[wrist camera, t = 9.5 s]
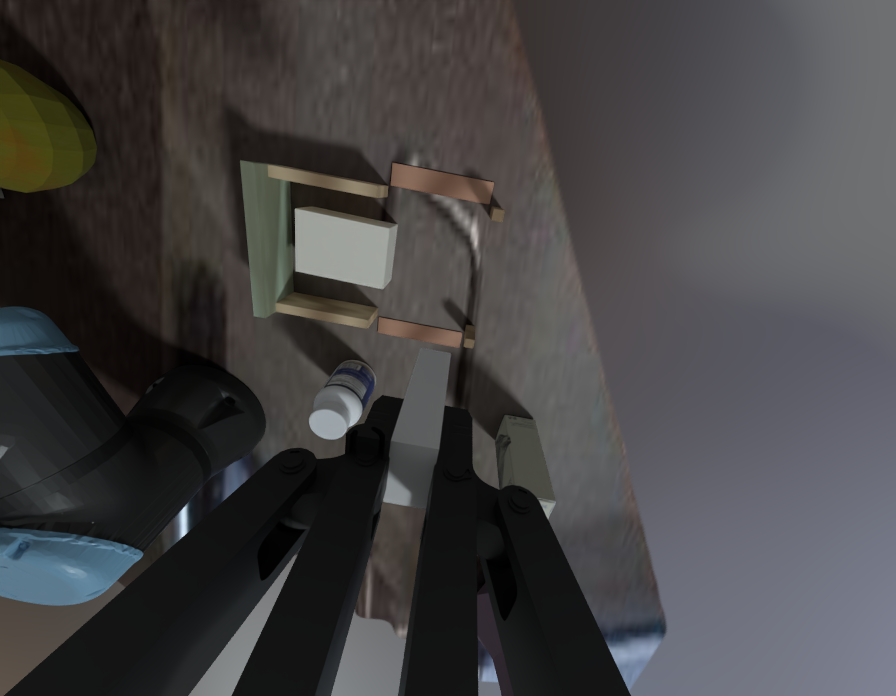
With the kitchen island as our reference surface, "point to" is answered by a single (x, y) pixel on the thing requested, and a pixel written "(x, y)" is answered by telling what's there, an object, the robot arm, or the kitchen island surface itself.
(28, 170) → the apple
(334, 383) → the pill bottle
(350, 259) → the cream block
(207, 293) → the kitchen island surface
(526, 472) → the box
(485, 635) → the flask
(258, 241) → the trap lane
